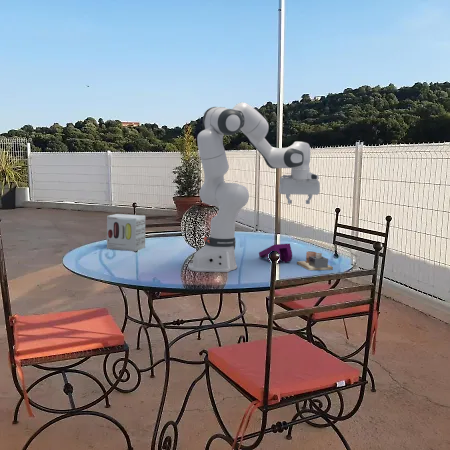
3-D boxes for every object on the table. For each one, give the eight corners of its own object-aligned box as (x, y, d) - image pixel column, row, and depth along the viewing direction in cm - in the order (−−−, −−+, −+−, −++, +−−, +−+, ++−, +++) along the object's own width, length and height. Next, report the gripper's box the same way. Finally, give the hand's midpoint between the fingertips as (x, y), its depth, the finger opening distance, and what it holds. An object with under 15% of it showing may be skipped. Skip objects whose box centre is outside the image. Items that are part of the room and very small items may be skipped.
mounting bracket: (258, 270, 234) (277, 261, 219) (255, 254, 236) (274, 244, 221) (274, 268, 238) (293, 259, 223) (270, 253, 240) (289, 243, 225)
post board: (308, 270, 210) (309, 254, 209) (296, 263, 223) (297, 249, 222) (332, 269, 213) (333, 254, 212) (319, 263, 226) (320, 248, 225)
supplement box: (106, 249, 246) (105, 215, 243) (117, 245, 258) (117, 213, 256) (135, 251, 242) (136, 217, 239) (145, 247, 254) (146, 215, 252)
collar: (314, 267, 210) (315, 259, 209) (308, 264, 216) (309, 256, 216) (327, 267, 212) (328, 258, 211) (321, 264, 218) (321, 256, 217)
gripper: (282, 175, 216) (281, 204, 218) (322, 176, 221) (320, 204, 223) (277, 174, 222) (276, 203, 224) (316, 175, 227) (314, 203, 229)
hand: (298, 203), depth 224 cm, fingers open, 8 cm apart
